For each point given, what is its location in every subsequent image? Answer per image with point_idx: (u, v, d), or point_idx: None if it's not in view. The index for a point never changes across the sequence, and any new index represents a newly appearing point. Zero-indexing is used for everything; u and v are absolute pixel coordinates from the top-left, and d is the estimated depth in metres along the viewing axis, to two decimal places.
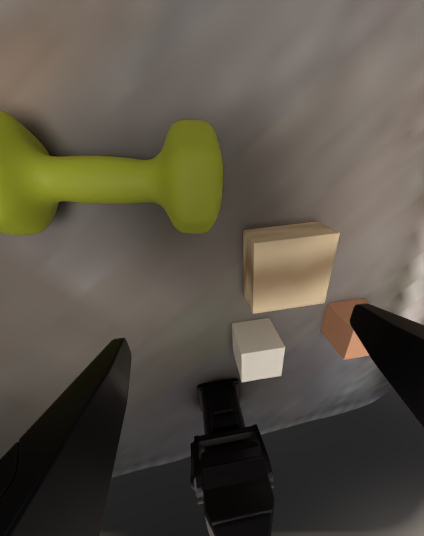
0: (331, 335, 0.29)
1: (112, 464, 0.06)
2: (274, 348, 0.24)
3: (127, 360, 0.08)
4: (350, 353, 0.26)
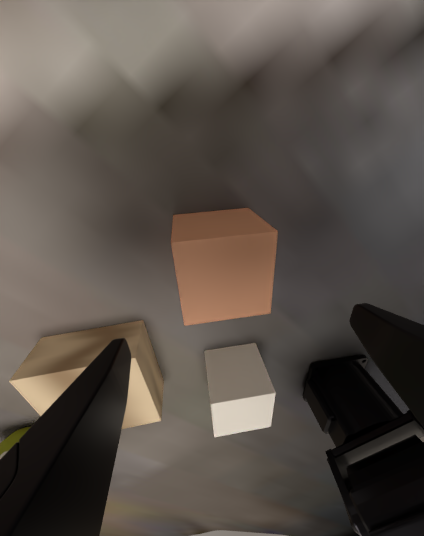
0: None
1: (113, 464, 0.06)
2: (211, 411, 0.17)
3: (127, 360, 0.08)
4: (254, 307, 0.12)
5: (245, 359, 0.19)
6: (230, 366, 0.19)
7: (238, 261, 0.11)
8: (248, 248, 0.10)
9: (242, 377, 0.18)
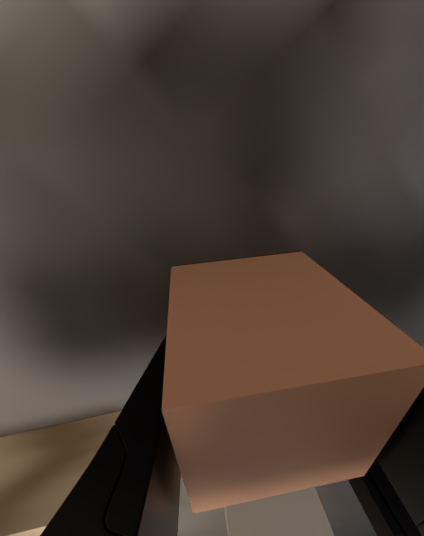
0: None
1: None
2: None
3: None
4: (337, 473, 0.06)
5: None
6: None
7: (326, 420, 0.04)
8: (356, 398, 0.04)
9: (278, 498, 0.12)
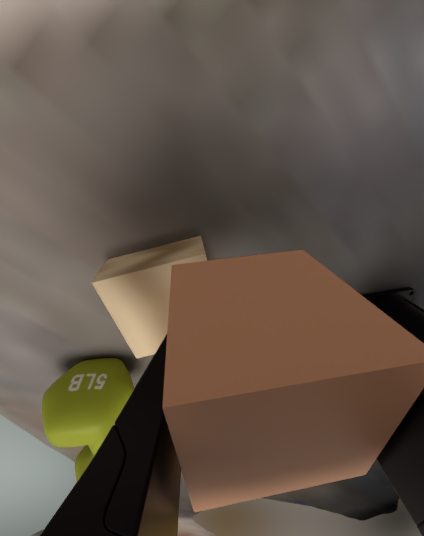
0: None
1: None
2: None
3: None
4: (338, 472, 0.06)
5: None
6: None
7: (328, 418, 0.04)
8: (359, 395, 0.04)
9: None
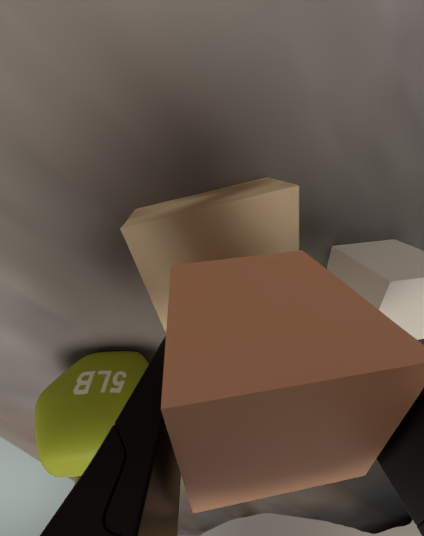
0: None
1: None
2: (382, 298, 0.12)
3: None
4: (337, 472, 0.06)
5: (396, 250, 0.14)
6: (382, 254, 0.14)
7: (327, 418, 0.04)
8: (358, 397, 0.04)
9: (409, 261, 0.13)
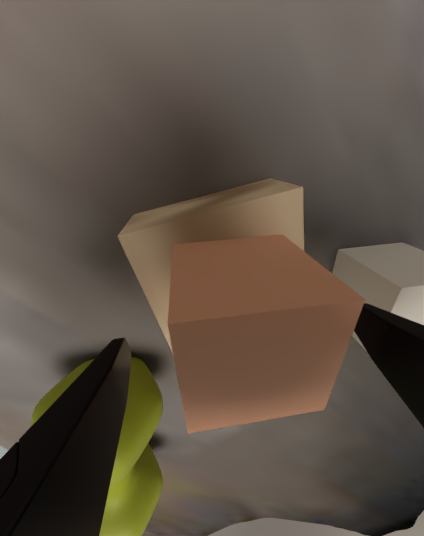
0: None
1: (112, 464, 0.06)
2: (392, 305, 0.11)
3: (127, 360, 0.08)
4: (301, 403, 0.07)
5: (405, 253, 0.14)
6: (391, 258, 0.13)
7: (287, 346, 0.06)
8: (307, 327, 0.06)
9: (420, 266, 0.12)
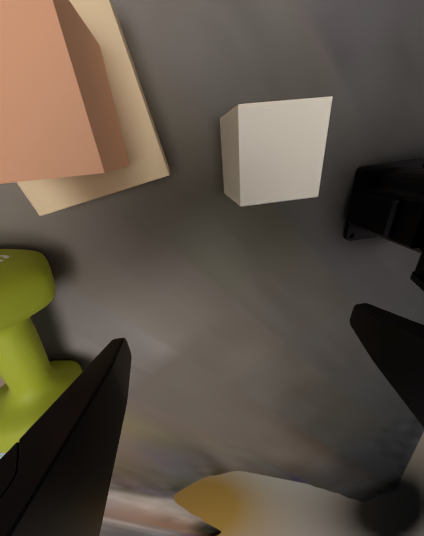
0: None
1: (113, 464, 0.06)
2: (238, 132, 0.11)
3: (127, 360, 0.08)
4: (69, 156, 0.07)
5: None
6: None
7: None
8: None
9: None
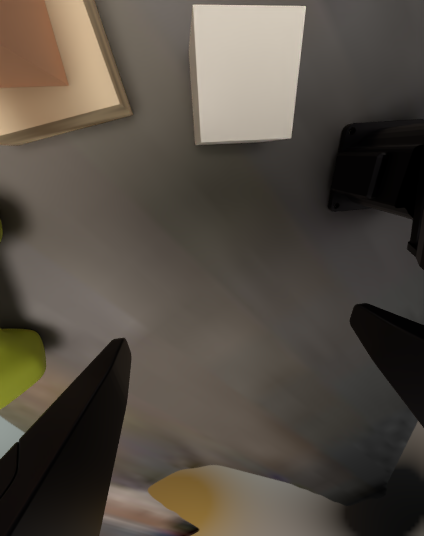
0: (12, 72, 0.09)
1: (113, 464, 0.06)
2: (195, 43, 0.10)
3: (127, 360, 0.08)
4: None
5: None
6: None
7: None
8: None
9: None
